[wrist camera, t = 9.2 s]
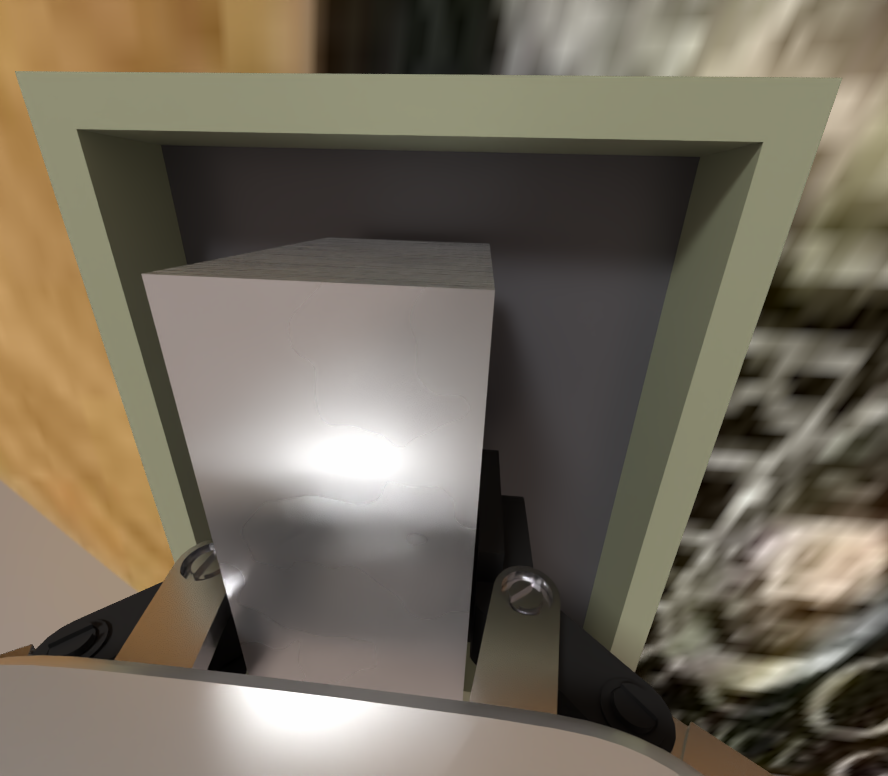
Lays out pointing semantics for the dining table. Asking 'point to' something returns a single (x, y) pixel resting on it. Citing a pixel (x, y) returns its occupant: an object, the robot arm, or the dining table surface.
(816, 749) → the dining table surface
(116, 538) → the dining table surface
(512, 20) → the dining table surface
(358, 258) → the bar
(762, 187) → the case
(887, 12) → the dining table surface
